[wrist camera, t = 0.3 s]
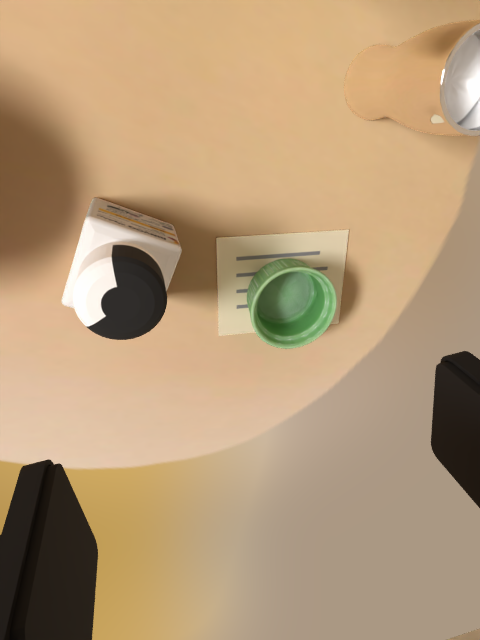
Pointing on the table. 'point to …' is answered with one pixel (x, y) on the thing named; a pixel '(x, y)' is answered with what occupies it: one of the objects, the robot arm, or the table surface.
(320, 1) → the table surface
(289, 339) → the ramekin
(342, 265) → the letter
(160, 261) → the container
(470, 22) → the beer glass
